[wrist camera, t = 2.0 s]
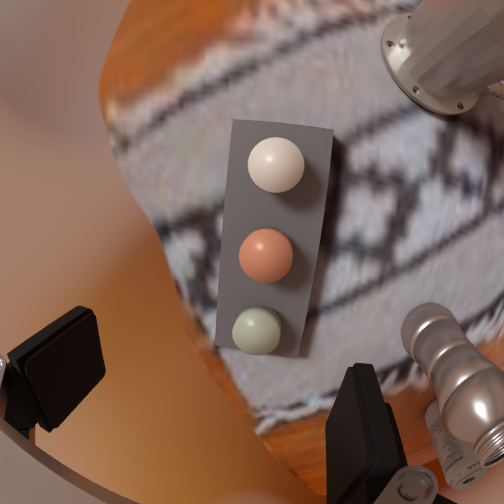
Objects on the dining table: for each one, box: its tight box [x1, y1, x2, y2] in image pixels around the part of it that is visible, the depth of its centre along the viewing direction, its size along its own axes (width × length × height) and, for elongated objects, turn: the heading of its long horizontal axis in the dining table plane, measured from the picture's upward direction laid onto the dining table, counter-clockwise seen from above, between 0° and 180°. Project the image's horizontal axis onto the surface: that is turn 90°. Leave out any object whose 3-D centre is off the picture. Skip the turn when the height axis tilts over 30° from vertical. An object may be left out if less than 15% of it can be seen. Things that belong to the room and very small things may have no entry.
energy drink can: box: [425, 399, 489, 491], centre depth 23 cm, size 6×6×15 cm
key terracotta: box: [239, 227, 293, 283], centre depth 24 cm, size 4×4×2 cm
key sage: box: [232, 305, 281, 355], centre depth 26 cm, size 4×4×2 cm
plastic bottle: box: [401, 302, 504, 468], centre depth 18 cm, size 6×7×20 cm
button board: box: [215, 119, 333, 358], centre depth 27 cm, size 9×23×2 cm, turn 174°
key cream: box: [248, 137, 304, 193], centre depth 22 cm, size 4×4×2 cm
